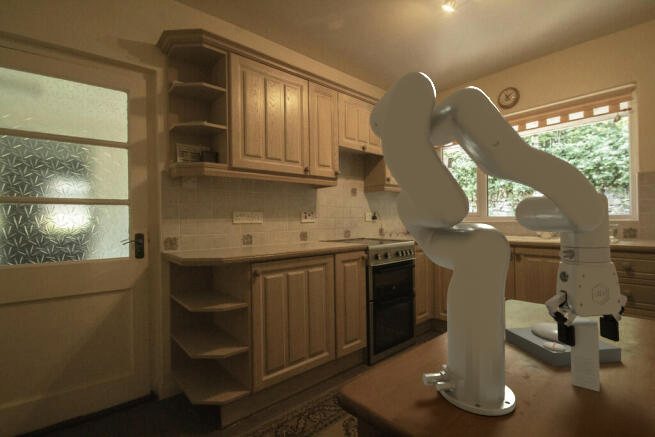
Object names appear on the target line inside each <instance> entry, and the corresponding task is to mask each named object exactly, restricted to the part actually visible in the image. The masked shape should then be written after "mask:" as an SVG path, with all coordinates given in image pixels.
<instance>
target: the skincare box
mask: <svg viewBox="0 0 655 437" xmlns="http://www.w3.org/2000/svg"><path fill="white" fill-rule="evenodd" d="M571 325H572V326H574V328H575V346H573V347H571V365H570V368H571V370H570V371H571V372H570V373H571V374H570V375H571V385H572V386H574V387H579V388H583V389H586V390H590V391H595V392H600V390H601V389H600V388H601V386H600V385H601V384H600V383H601V382H600V381H601V379H600V363H599V340H600V339H599V337H600V336H599V335H600V333H599V322H598V320H597V319H590V318H586V317H580V316H576V318H575V320H574V321H573V323H572V324H571Z"/></svg>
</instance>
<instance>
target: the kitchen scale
mask: <svg viewBox="0 0 655 437" xmlns="http://www.w3.org/2000/svg"><path fill="white" fill-rule="evenodd" d="M505 341H506V342H508V343H511V344H512V345H514V346H516V347H518V348H519V349H522V351H525V352H526V353H529V354H530V355H532V356H534V357H536V358H538V359H539V360H541V361H543V362H545V363H546V364H548V365H551V366H552V367H554V368H555V367H565V366H566V367H568V366H571V346H569V345H566V344H564V343H562V342H560V341H559V340H558V328H557V323H553V322H536V323H533V324H532V325H530V326H527V327H524V326H523V327H510V328H509V327H508V328H505ZM617 362H618V363H619V362H622V348H621V347H619V346H617V345H614V344H612V343H609V342H606V341H604V340H601V339H599V364H605V363H617Z"/></svg>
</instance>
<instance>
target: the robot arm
mask: <svg viewBox="0 0 655 437" xmlns="http://www.w3.org/2000/svg"><path fill="white" fill-rule="evenodd" d="M436 101H437V92H436V89H435V86H434V83H433V81H432V80H431V79H430V77H429V76H427V75H426V74H425V73H423V72H420V71H411V72H408V73H405V74H404V75H401V77H399V78H398V79H396V80H395V81H394V82H393V84H391V86H390V87H388V89H387V90H386V91H385V93H384V94H383V95H382V97H381V98H380V99H379V100H378V101H377V102H376V103H375V105H374V106H373V108H372V110H371V111H370V114H369V126H370V129H371V131H372V132H373V134H374V135H375V137H377V138H379V139H380V140H381V149H382V156H383V159H384V163H385V165H386V167H387V169H388V171H389V172H390V174H391V175H392V178H393V180H394V181H395V182H396V183H397V185H398V186H399V188H400V189H401V190H400V192H399V193H398V196H397V198H396V211H397V214H398V217H399V219H400V221H401V223H402V225H403V226H404V228H406V230H407V231H408V232H409V235H411V237H412V239H413V240H414V241H415V242H416V244H417V245H418V247H419V248H420V249H421V250H422V252H423V253H424V254H425V255H426V257H427V258H428V259H429V260H430V261H431V262H432V263H433V264H436V265H437V266H439V267H442V268H445V269H448V270H451V271H452V275H451V277H450V281H449V284H448V288H447V291H446V292H447V293H446V321H447V322H446V324H447V326H446V327H447V328H446V329H447V331H446V332H447V333H446V334H447V336H446V337H447V342H446V343H447V344H446V345H447V350H446V351H447V364H442V365H441V368H442V370H439V371H438V372H435V373H434V372H429V373H423V374H422V382H423V384H424V385H425V386H434V385H435V389H436V390H437V391H438V392H440V394H441V395H442V396H443V397H444V399H445V400H447V401H448V402H449V403H450V404H452V405H454V406H455V407H458V408H459V409H462V410H464V411H467V412H470V413H473V414H477V415H483V416H492V417H493V416H494V417H495V416H503V415H504V416H505V415H507V414H509V413H511V412H512V411H514V410H515V408H516V404H517V403H516V399H517V398H516V395H515V393H514V392H513V391H512V389H510V387H508V386H507V385H506V340H505V329H506V328H505V324H506V313H505V314H504V297H505V291H506V280H507V276H508V275H507V274H508V272H509V271H508V270H509V265H510V261H511V245H510V242H509V240H508V238H507V237H506V235H505V234H504V233H503V232H502V231H501V230H500V229H498V228H496V227H494V226H492V225H489V224H485V223H478V222H477V223H476V222H463V221H465V219H466V218H467V216H468V215H469V212H470V201H469V198H468V196H467V194H466V192H465V191H464V189H463V187H462V186H461V185H460V183H459V182H458V180H457V179H456V178H455V176H454V175H453V174H452V172H451V170H449V167H448V166H447V165H446V164H445V162H444V161H443V159H442V158H441V156H440V155H439V153H438V151H437V150H436V148H435V147H439V146H440V147H441V146H446V145H448V144H452V143H454V142H456V143H457V144H458V145H459V147H461V149H462V150H463V151H464V152H465V153H466V154H467V155H468V157H469V158H470V159H471V160H472V161H473V163H475V165H476V166H477V168H478V169H480V171H481V172H482V173H483V174H484V175H487V176H488V177H493V178H494V179H498V180H502V181H507V182H511V183H514V184H519V185H523V186H526V187H528V188H529V189H532V190H535V191H536V192H539V193H540V194H539V193H538V194H533V195H529V196H527V197H525V198H523V199H522V200H521V201H520V202H519V203H518V204H517V206H516V208H515V213H514V214H515V215H514V216H515V220H516V221H517V222H518V224H519V225H520V226H522V227H523V228H525V229H527V230H529V231H534V232H541V233H542V232H543V233H544V232H545V233H559V241H560V251H558V257H559V258H560V261H559V264H558V269H557V276H556V290H555V292H556V294H555V295H553V297H551V298H549V299H548V300H546V301H545V303H544V306H545V307H546V309H547V311H548V313H549V314H548V315H550V317H551V318H553V320H554V321H555V322H556V324H557V328H558V340H559V341H560V342H562V343H564V344H566V345H569V346H571V347H573V346H575V328H574V326H572V325H571V324H572V323H573V321H574V320H575V318H576V317H580V318H590V317H598V316H599V335H600V336H601V337H602V338H604V339H606V340H609V341H613V342H615V343H616V342H619V341H620V325H619V322H621V321H622V314H623V313H624V312H625V310H626V309H625V306H626V303H627V301H628V296H626V295H624V294H622V293H621V287H620V282H619V276H618V273H617V269H616V265H615V263H614V262H612V260H611V239H610V235H611V234H610V219H609V218H610V215H609V214H610V213H609V211H610V210H609V198H608V197H607V195H606V194H604V193H602V192H598V191H597V189H596V188H595V187H594V185H593V184H592V182H590V180H589V179H588V178H587V177H586V175H585V174H584V173H583V172H582V171H581V170H579V169H578V167H575V165H573V164H572V163H569V162H568V161H566V160H565V159H562V158H560V157H558V156H556V155H554V154H552V153H550V152H547V151H545V150H543V149H541V148H538V147H535V146H533V145H530V144H528V143H527V142H526V141H525V140H524V139H523V138H522V136H521V135H520V134H519V133H518V131H517V130H516V129H515V128H514V127H513V126H512V125H511V124H510V122H509V120H507V119H506V118H505V116H504V115H503V113H501V111H500V110H499V109H498V107H496V105H495V104H494V103H493V102H492V101H491V99H490V97H488V96H487V95H486V93H485V92H484V91H482V89H480V88H478V87H475V86H466V87H462V88H460V89H457V90H455V91H453V92H452V93H450V94H449V95H447V96H445V97H443V99H441V100H440V101H438V102H437V103H436ZM566 314H567V315H566ZM600 336H599V337H600Z"/></svg>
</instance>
